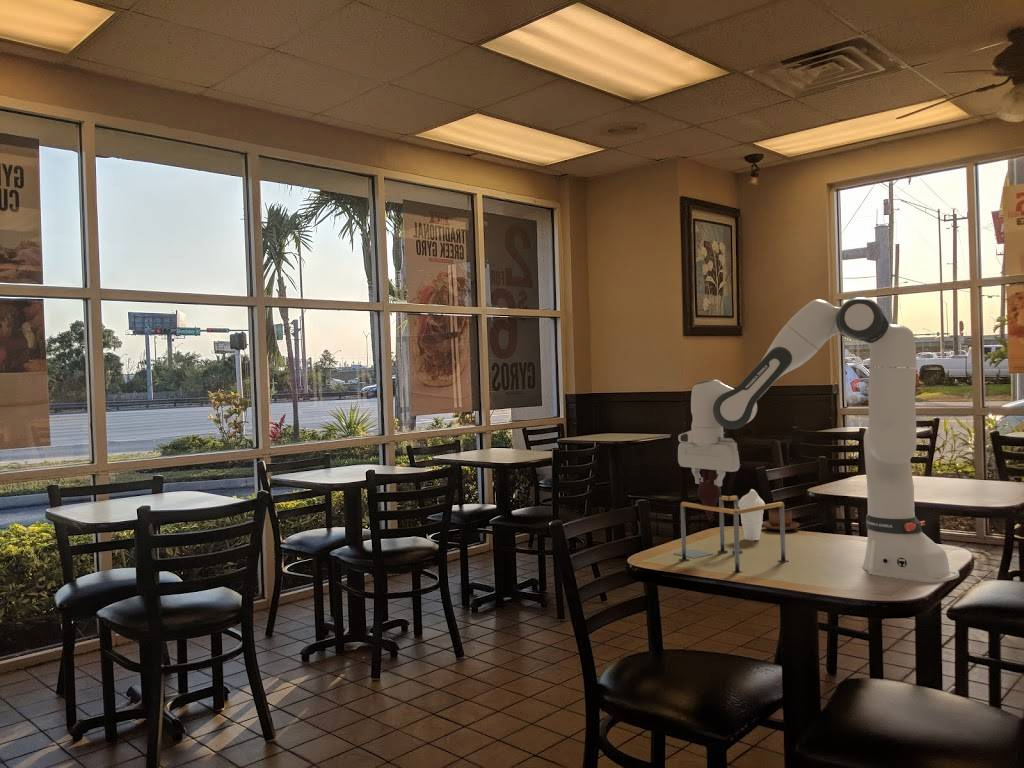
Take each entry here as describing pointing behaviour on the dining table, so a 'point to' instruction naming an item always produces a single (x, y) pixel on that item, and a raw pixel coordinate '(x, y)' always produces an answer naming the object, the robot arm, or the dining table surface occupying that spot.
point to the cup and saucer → (775, 520)
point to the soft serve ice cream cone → (751, 515)
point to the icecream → (709, 491)
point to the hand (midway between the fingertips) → (708, 484)
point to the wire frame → (736, 525)
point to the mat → (694, 553)
